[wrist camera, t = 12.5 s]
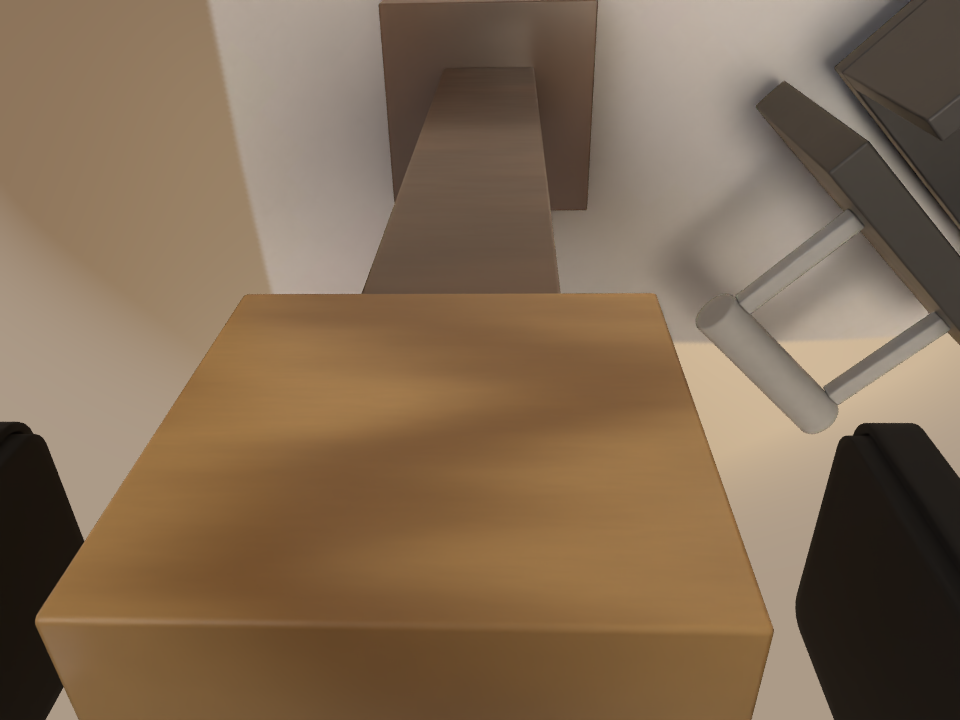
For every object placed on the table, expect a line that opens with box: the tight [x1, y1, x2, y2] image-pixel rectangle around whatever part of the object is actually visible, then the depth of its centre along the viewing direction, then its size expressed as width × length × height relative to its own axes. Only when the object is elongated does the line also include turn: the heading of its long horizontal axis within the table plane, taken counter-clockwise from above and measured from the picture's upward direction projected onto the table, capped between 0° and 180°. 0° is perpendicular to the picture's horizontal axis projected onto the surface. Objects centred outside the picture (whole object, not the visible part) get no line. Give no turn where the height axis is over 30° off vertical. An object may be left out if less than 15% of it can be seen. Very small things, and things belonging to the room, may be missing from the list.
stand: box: [362, 0, 598, 294], centre depth 19 cm, size 7×7×20 cm
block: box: [35, 293, 774, 720], centre depth 9 cm, size 5×5×5 cm
